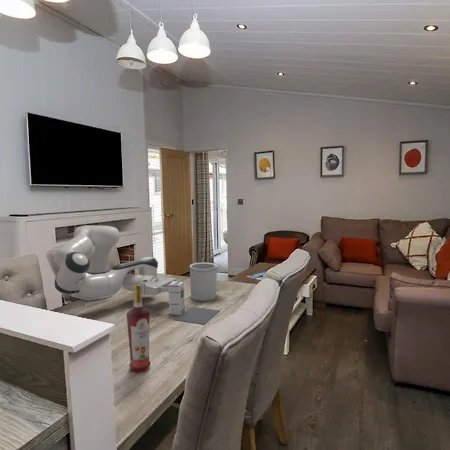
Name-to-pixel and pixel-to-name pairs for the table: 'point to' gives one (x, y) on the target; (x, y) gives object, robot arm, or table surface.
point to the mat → (197, 315)
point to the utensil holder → (203, 281)
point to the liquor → (138, 332)
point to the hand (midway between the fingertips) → (175, 287)
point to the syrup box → (176, 297)
